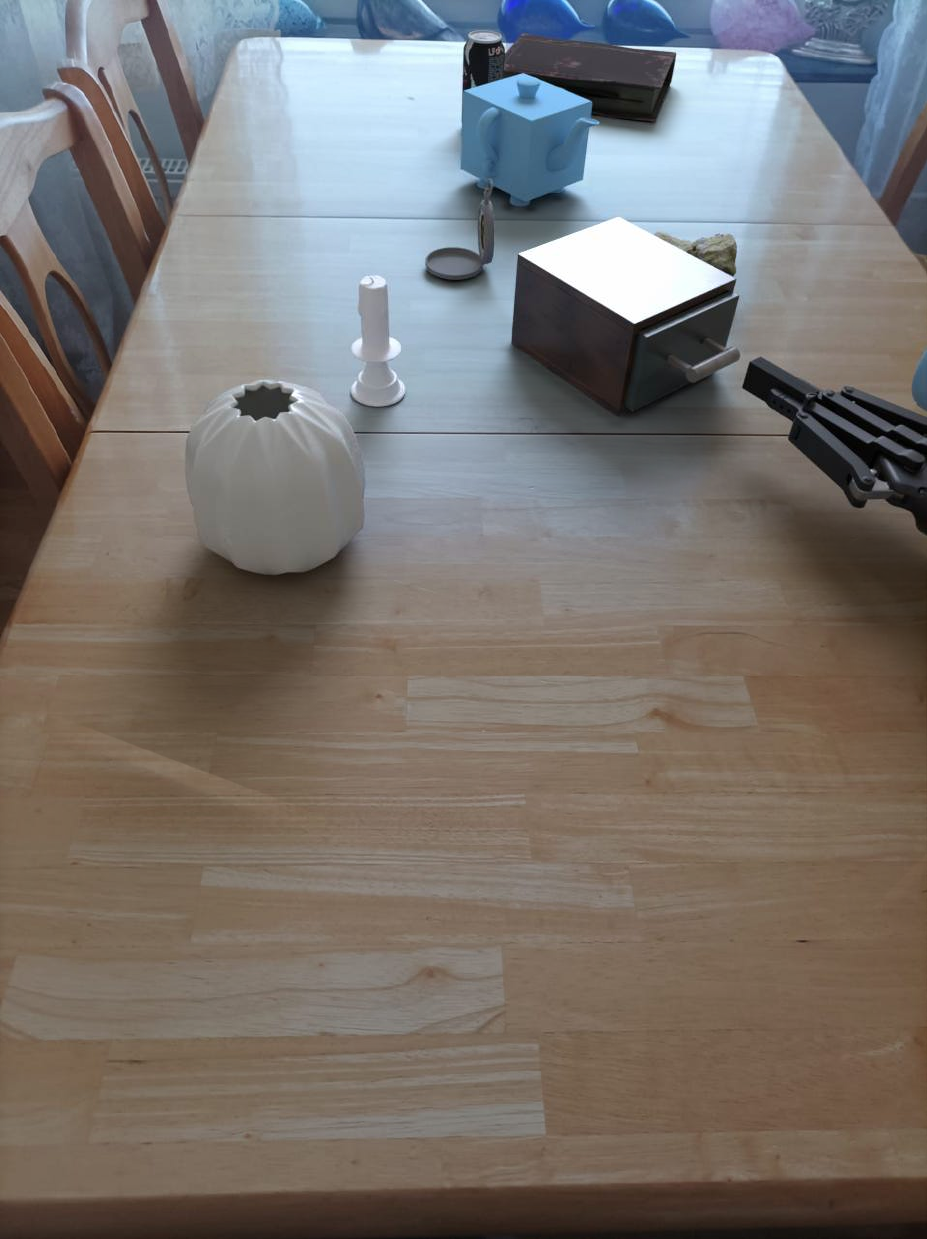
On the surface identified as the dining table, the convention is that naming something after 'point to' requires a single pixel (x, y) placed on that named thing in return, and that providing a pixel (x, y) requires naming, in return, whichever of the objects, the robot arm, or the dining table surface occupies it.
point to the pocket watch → (465, 261)
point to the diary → (597, 73)
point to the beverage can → (482, 59)
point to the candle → (376, 348)
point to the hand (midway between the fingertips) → (751, 372)
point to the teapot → (524, 136)
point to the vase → (274, 478)
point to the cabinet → (603, 302)
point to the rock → (709, 250)
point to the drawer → (682, 350)
